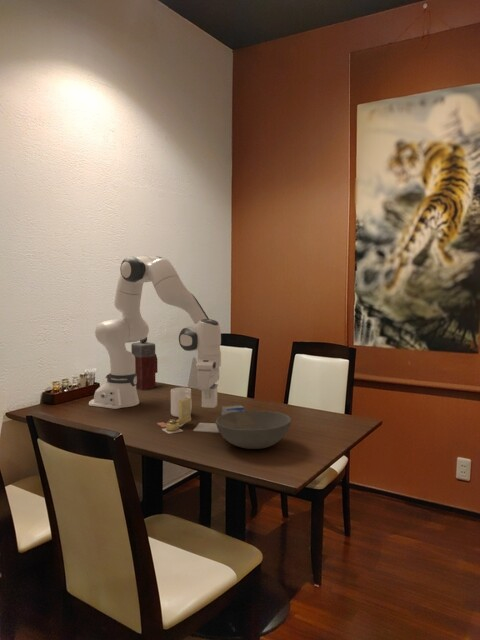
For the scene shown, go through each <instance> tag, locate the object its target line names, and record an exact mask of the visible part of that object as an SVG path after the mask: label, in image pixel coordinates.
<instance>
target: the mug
mask: <svg viewBox="0 0 480 640" xmlns="http://www.w3.org/2000/svg"><path fill="white" fill-rule="evenodd" d="M185 398H191V399H192V389H191V388H189V387H175V388H171V389H170V414H171V416H173V417H175V418H179V400H182V399H185ZM192 407H193V402H192V400H191V410H192Z"/></svg>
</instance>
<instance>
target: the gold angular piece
mask: <svg viewBox="0 0 480 640" xmlns="http://www.w3.org/2000/svg"><path fill="white" fill-rule="evenodd" d="M191 401H192V397H191V398H185V399H182V400H179V417H178V419H175V418H172V419H171V418H170V419H168V420H167V422H165V423H166V427H165V428H166V430H167V431H177V430H179V429H180V427H179V425H182V424H184V423H185V424H187V423H188V422H191V421H192V416H191V415H192V414H191V413H192V409H191ZM185 424H184V425H185Z"/></svg>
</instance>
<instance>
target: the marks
mask: <svg viewBox="0 0 480 640" xmlns="http://www.w3.org/2000/svg"><path fill="white" fill-rule="evenodd" d="M185 424H186V423H184V424H182V425H179V430H177V431H167V430H166V422H164V421H162V422H157V423H156V425H158V426H159V427H160V428H161V431H163V432H165V433H167V434H169V435H170V434H175V433H181V432H184V430H183V429H181V428H182V427H183V426H185Z"/></svg>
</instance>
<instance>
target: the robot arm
mask: <svg viewBox="0 0 480 640" xmlns="http://www.w3.org/2000/svg"><path fill="white" fill-rule="evenodd" d="M119 267H120V274H119V277H118V280H117V285H116V291H115V296H114V307H115V308H116V310H118V311H119V312H120V313H122V317H121V318H118V319H116V318H115V319H108V320H104V321H102V322H99V323H97V325H96V327H95V331H94V332H95V333H94V336H95V338H96V340H97V341H98V342H99V343H100V344H101V345H103V346H104V347H105V349H106V351H107V353H108V355H109V361H110V362H109V364H110V372H109V373H108V374H107V375H105V379H106V382H104V383H103V384H102V385H100V386H98V388H97V389H95V391H94V395H93V399H90V401H88V406H91V407H98V408H106V409H113V410H116V409H121V408H129V407H134V406H137V405H139V404H140V400H139V396H138V389H136V384H137V376H136V372H135V356H134V355H133V354H132V353H131V351H129V350H127V347H126V344H128V343H138V342H140V340H143V339H145V338H146V337H147V338H148V335H149V331H150V328H149V324H148V322H147V321H146V320H145V319H144V318H143V316H142V313H141V308H140V307H141V299H142V294H143V286H144V284H145V283H149V282H151V283H152V286H153V288H154V290H155V292H156V294H157V296H158V298H159V299H160V300H161V301H162V302H163V303H165V304H166V305H169V306H173V307H177V308H179V309H180V310H181V309H182V310H183V311H185V312H186V313H187V314H188V315H189V317H190V318H191V320H192V322H193V323H194V324H193V325H190V326H187V327H184V328H182V329H181V331H179V334H178V343H179V346H180V347H181V348H182V350H184V351H186V352H194V351H197V361H196V363H195V370H197V371H196V372H197V373H196V375H197V377H196V379H197V388H198V390H199V391H202V390H204V394H205V399H209V398H210V392H209V390H210V388H211V387H212V386H213V385H214V384H217V382H218V381H219V380H220V367H221V366H222V352H221V344H222V332H221V331H222V330H221V326H220V323H219V322H218V321H217V320H215V319H212V318H211V319H210V317H209V316H208V314H207V313H206V312H205V310H204V309H203V307H202V305H201V304H200V302H199V301H198V299H197V298H196V296H194V294H193V293H192V292H191V291H190V290H188V288H187V286H186V285H184V282H183V281H182V279H181V278H180V276H179V274H178V272H177V271H176V269H175V267H174V265H173V264H172V263H171V262H170V260H168V259H167V258H164V257H162V256H157V255H156V256H153V255H151V256H150V255H143V256H142V255H141V256H140V255H139V256H129V257H126V258H124V259H123V260H122V262H121V263H120V266H119Z"/></svg>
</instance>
